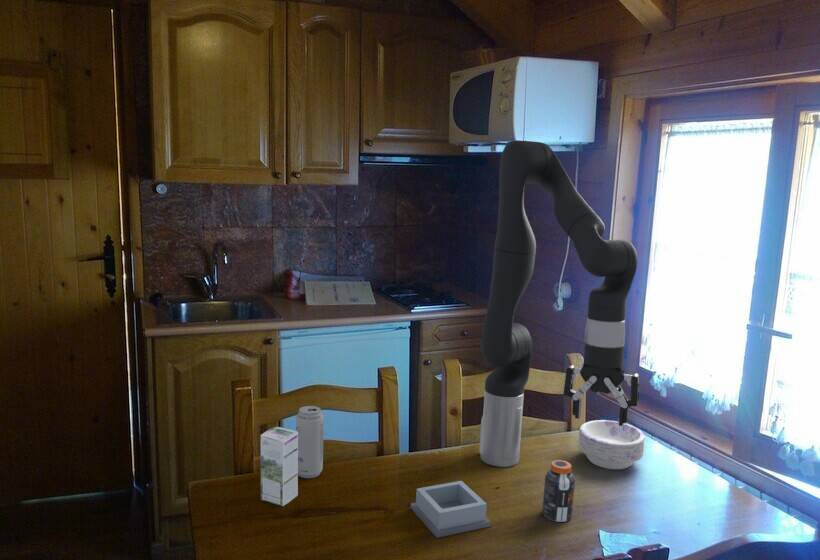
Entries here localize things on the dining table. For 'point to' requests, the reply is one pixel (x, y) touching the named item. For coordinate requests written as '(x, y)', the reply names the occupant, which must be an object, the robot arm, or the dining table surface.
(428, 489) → the holder
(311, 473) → the energy drink can
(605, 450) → the paper bowls
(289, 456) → the syrup box
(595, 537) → the dining table surface
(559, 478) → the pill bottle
